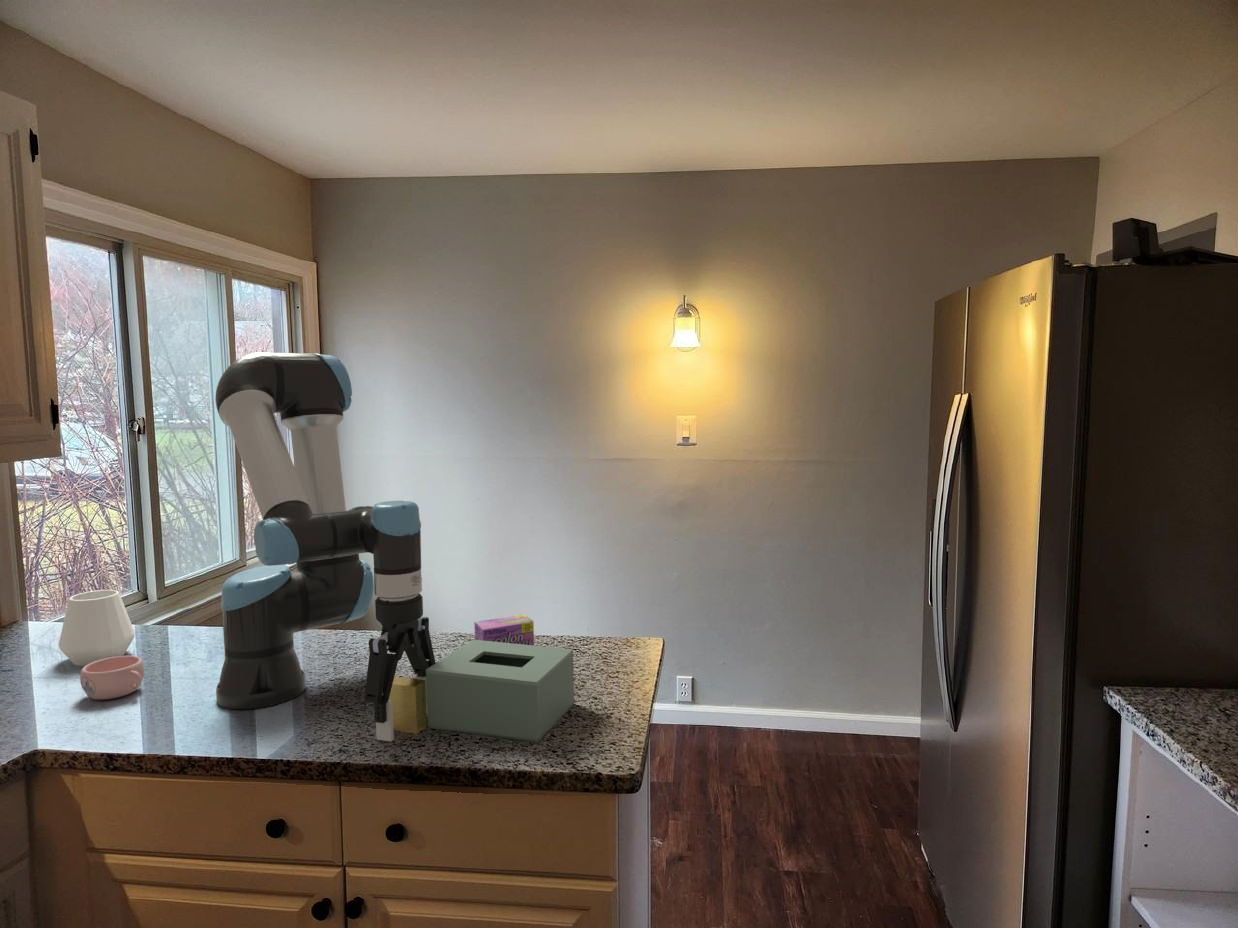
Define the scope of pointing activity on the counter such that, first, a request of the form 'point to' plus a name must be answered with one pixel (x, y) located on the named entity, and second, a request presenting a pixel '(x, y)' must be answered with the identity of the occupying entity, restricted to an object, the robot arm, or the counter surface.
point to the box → (506, 630)
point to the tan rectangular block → (408, 704)
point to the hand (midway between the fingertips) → (403, 725)
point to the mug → (112, 677)
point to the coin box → (500, 690)
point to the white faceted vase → (95, 627)
